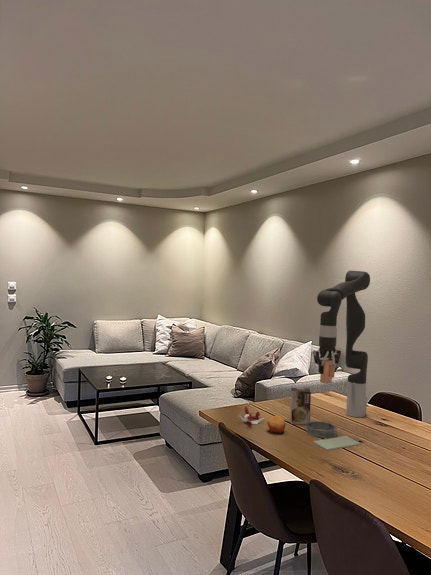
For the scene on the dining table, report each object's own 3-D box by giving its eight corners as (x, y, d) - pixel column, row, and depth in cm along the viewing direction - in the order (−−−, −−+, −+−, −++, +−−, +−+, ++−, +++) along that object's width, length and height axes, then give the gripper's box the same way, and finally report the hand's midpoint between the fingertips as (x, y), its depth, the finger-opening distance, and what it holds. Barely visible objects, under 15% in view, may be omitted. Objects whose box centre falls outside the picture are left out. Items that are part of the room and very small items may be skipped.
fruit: (288, 426, 199) (286, 413, 195) (284, 439, 193) (282, 427, 189) (271, 423, 202) (269, 411, 199) (266, 436, 196) (264, 424, 193)
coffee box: (308, 420, 212) (309, 388, 212) (310, 425, 206) (311, 391, 205) (289, 419, 213) (291, 387, 213) (290, 424, 207) (292, 390, 206)
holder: (323, 426, 205) (323, 420, 205) (342, 435, 193) (342, 429, 193) (300, 429, 199) (301, 423, 199) (318, 439, 188) (319, 432, 187)
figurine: (266, 428, 199) (267, 414, 199) (242, 428, 198) (242, 414, 198) (259, 417, 214) (260, 404, 214) (236, 418, 213) (237, 404, 213)
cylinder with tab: (317, 381, 194) (318, 359, 194) (326, 380, 196) (327, 358, 196) (328, 385, 187) (329, 362, 187) (337, 384, 189) (338, 361, 189)
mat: (346, 437, 191) (346, 435, 191) (360, 444, 183) (360, 443, 183) (313, 442, 184) (313, 441, 184) (327, 450, 176) (327, 449, 176)
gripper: (320, 337, 186) (318, 376, 186) (346, 336, 192) (344, 374, 192) (309, 334, 193) (307, 372, 193) (335, 334, 199) (333, 371, 199)
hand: (326, 373), depth 193 cm, fingers closed on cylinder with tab, 5 cm apart
